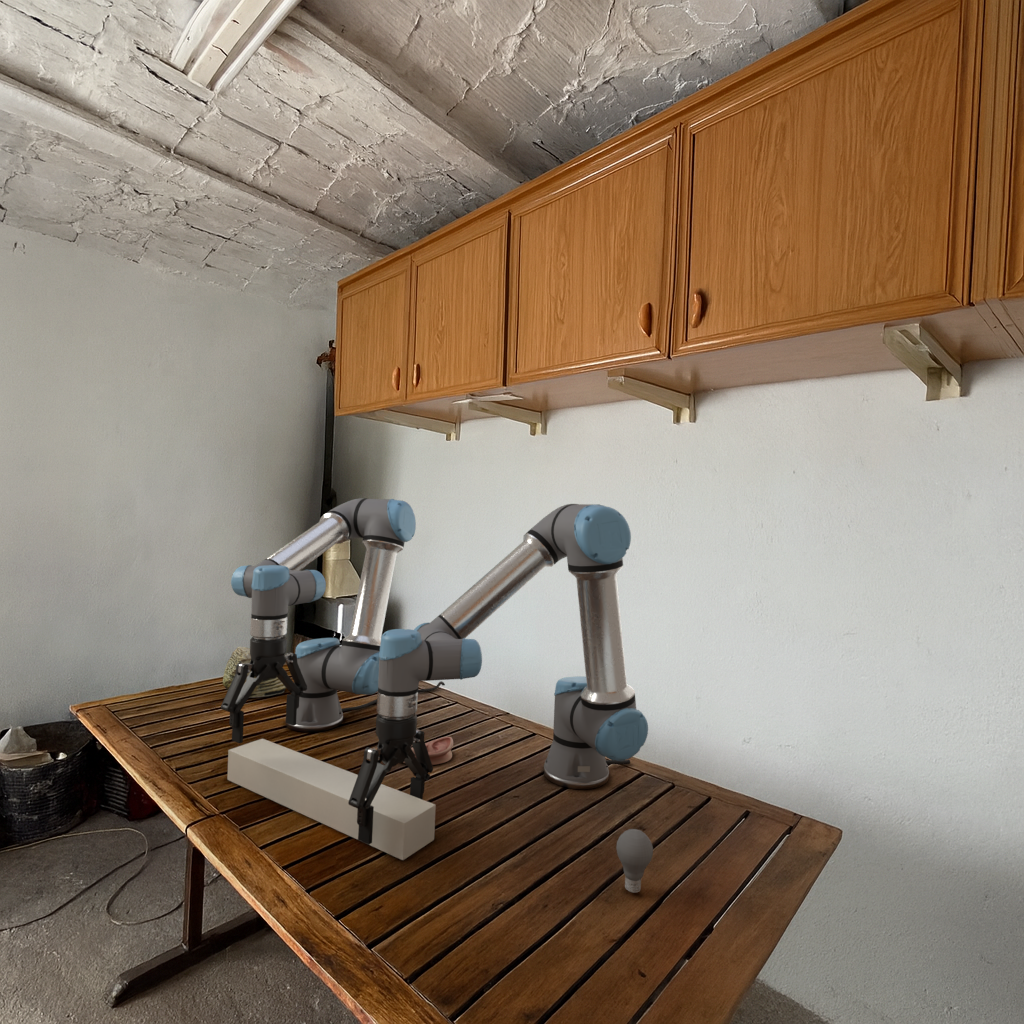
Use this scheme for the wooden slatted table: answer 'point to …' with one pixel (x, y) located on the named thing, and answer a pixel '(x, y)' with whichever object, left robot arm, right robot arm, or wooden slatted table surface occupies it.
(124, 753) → the wooden slatted table surface
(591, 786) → the right robot arm
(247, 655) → the fossil
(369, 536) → the left robot arm
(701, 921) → the wooden slatted table surface
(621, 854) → the light bulb
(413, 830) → the thick board
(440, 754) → the anatomical model
